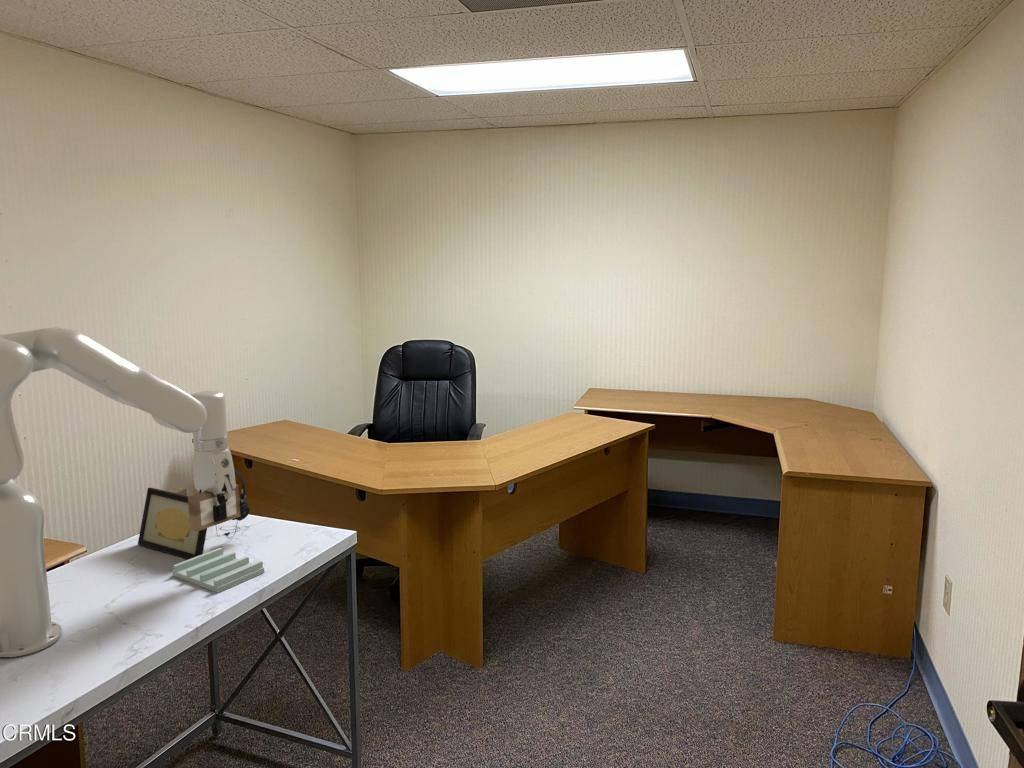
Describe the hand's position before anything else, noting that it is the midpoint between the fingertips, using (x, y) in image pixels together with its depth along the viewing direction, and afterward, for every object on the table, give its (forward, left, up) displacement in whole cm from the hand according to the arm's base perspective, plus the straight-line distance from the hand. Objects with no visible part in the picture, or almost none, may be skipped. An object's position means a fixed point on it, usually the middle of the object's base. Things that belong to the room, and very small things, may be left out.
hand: (215, 518), depth 176 cm
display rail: (0, 0, -14) cm, 14 cm away
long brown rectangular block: (0, 0, -1) cm, 1 cm away
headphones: (+19, +19, -14) cm, 30 cm away
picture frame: (+5, +22, -14) cm, 27 cm away
